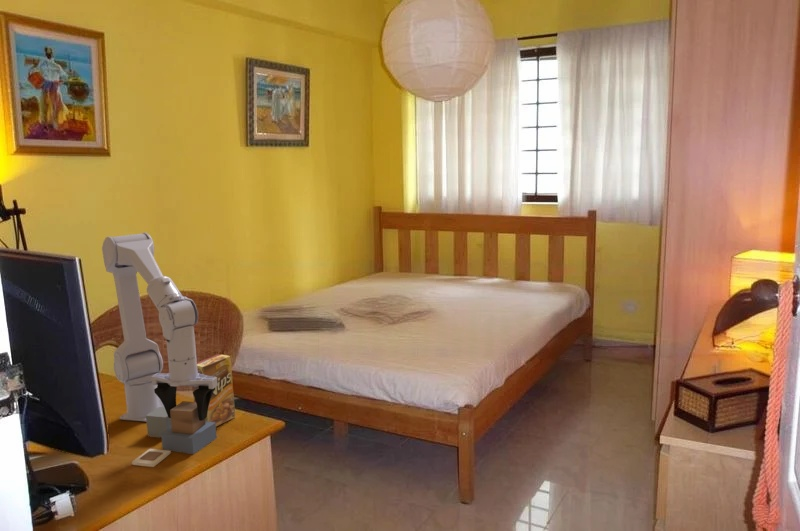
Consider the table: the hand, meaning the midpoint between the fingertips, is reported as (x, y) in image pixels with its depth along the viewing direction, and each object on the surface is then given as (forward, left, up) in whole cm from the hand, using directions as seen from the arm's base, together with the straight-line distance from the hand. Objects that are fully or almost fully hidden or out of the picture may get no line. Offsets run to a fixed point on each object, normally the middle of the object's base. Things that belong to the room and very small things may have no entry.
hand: (187, 417), depth 139 cm
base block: (0, 0, -6) cm, 6 cm away
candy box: (-11, 0, -6) cm, 13 cm away
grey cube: (-4, -9, -6) cm, 12 cm away
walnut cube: (0, 0, -2) cm, 2 cm away
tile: (+8, -4, -6) cm, 11 cm away
